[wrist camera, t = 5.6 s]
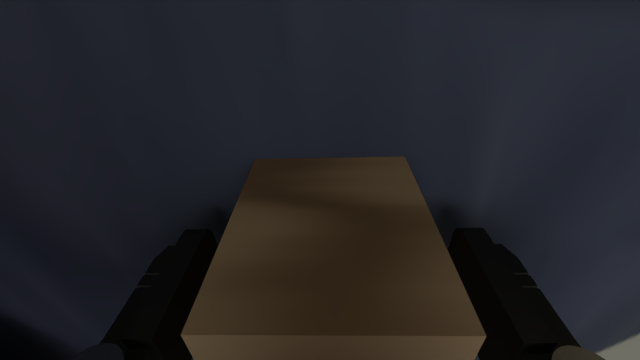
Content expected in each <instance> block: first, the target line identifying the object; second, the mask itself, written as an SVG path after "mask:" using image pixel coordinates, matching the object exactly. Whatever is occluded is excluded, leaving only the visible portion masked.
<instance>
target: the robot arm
mask: <svg viewBox="0 0 640 360" xmlns="http://www.w3.org/2000/svg"><path fill="white" fill-rule="evenodd" d="M217 248H218V247H217V244H216V241H215V238H214V234H213V232H212V231H211V230H210V229H191V230H185V231H184V232H183V234H182V235H181V237H180V239H179V241H178V242H177V244H176V246H168V247H167V248H166V249H165V250H164V251H162V252H161V253H160V254H159V255H158V256H157V257H156V258H155V259H154V260H153V262H152V263H151V265H150V266H149V268H148V270H147V271H146V274H145V276H143V277H142V279H141V281H140V282H139V284H138V287H137V288H135V290H134V291H133V293H132V295H131V296H130V298H129V299H128V301H127V302H126V304H125V306H124V307H123V309H122V310H121V312H120V313H119V315H118V317H117V318H116V320H115V321H114V323H113V324H112V326H111V328H110V329H109V331H108V332H107V334H106V335H105V337H104V338H103V340H102V341H101V342H100V343H99V344H98V345H95V346H92V347H90V348H88V349H86V350H84V351H82V352H81V353H79V354H78V355H77V356H75V357H74V358H73V359H72V360H191V359H192V355H191V353H190V351H189V349H188V348H187V346H186V344H185V342H184V340H183V338H182V337H181V333H182V331H183V328H184V326H185V323H186V321H187V319H188V316H189V314H190V312H191V309H192V307H193V305H194V302H195V300H196V297H197V295H198V293H199V290H200V288H201V286H202V283H203V281H204V279H205V276H206V274H207V271H208V269H209V267H210V264H211V262H212V260H213V257H214V255H215V252H216V250H217ZM448 252H449V255H450V257H451V259H452V261H453V263H454V266H455V268H456V270H457V272H458V274H459V277H460V279H461V281H462V283H463V285H464V288H465V290H466V292H467V294H468V296H469V299H470V301H471V303H472V305H473V307H474V310H475V312H476V314H477V316H478V318H479V321H480V323H481V325H482V327H483V329H484V332H485V334H486V338H485V340H484V342H483V344H482V346H481V348H480V350H479V352H478V354H477V355H478V357H479V359H480V360H605V359H603V358H602V357H600V356H599V355H597V354H595V353H593V352H591V351H589V350H587V349H584V348H582V347H581V346H580V345H579V344H578V343H577V341H576V340H575V339H574V337H573V336H572V334H571V333H570V332H569V330H568V329H567V327H566V326H565V324H564V323H563V322H562V320H561V319H560V317H559V316H558V314H557V313H556V312H555V310H554V309H553V307H552V306H551V305H550V303H549V302H548V300H547V299H546V297H545V296H544V295H543V293H542V292H541V290H540V289H538V288H537V285H536V283H535V282H534V280H533V279H532V277H531V276H529V275H528V272H527V270H526V269H525V268H524V266H523V265H522V263H521V262H520V260H519V259H518V258H517V257H516V256H515V255H514V254H513V253H511V252H510V251H509V250H508V249H506V248H505V247H504V246H503V245H501V244H494V243H493V242H492V240H491V239H490V237H489V235H488V234H487V232H486V231H485V230H484V229H483V228H456V229H455V230H454V232H453V235H452V239H451V242H450V245H449V249H448Z"/></svg>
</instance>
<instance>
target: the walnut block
mask: <svg viewBox="0 0 640 360" xmlns="http://www.w3.org/2000/svg"><path fill="white" fill-rule="evenodd" d="M181 337H182V338H183V340H184V342H185V344H186V346H187V348H188V349H189V351H190V353H191V355H192V357H193V359H194V360H475V358H476V356H477V354H478V352H479V350H480V348H481V346H482V344H483V342H484V340H485V338H486V334H485V332H484V329H483V327H482V325H481V323H480V321H479V318H478V316H477V314H476V312H475V310H474V307H473V305H472V303H471V301H470V299H469V296H468V294H467V292H466V290H465V288H464V285H463V283H462V281H461V279H460V277H459V274H458V272H457V270H456V268H455V266H454V263H453V261H452V259H451V257H450V255H449V252H448V250H447V248H446V246H445V244H444V241H443V239H442V237H441V235H440V233H439V230H438V228H437V226H436V224H435V222H434V219H433V217H432V215H431V213H430V211H429V208H428V206H427V204H426V202H425V200H424V197H423V195H422V193H421V191H420V188H419V186H418V184H417V182H416V180H415V177H414V175H413V173H412V171H411V169H410V166H409V164H408V162H407V160H406V158H405V156H403V157H349V158H295V159H255V160H254V163H253V165H252V167H251V170H250V172H249V174H248V177H247V179H246V181H245V184H244V186H243V189H242V191H241V193H240V196H239V198H238V200H237V203H236V205H235V208H234V210H233V212H232V215H231V217H230V219H229V222H228V224H227V226H226V229H225V231H224V234H223V236H222V238H221V241H220V243H219V245H218V248H217V250H216V252H215V255H214V257H213V260H212V262H211V264H210V267H209V269H208V271H207V274H206V276H205V279H204V281H203V283H202V286H201V288H200V290H199V293H198V295H197V297H196V300H195V302H194V305H193V307H192V309H191V312H190V314H189V316H188V319H187V321H186V323H185V326H184V328H183V331H182V333H181Z"/></svg>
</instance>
